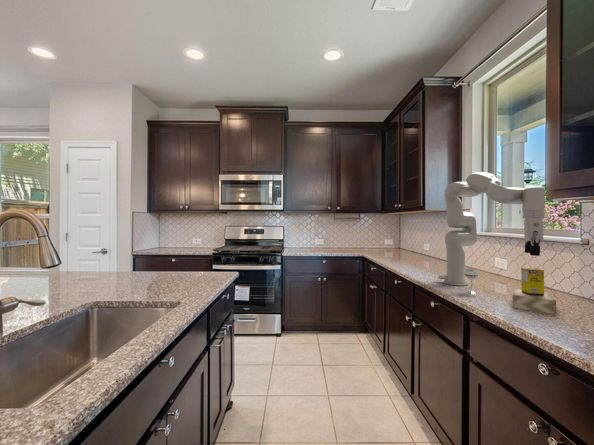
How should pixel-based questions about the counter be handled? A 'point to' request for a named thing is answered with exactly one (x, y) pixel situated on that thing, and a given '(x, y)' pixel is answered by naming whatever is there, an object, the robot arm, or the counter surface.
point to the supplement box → (532, 281)
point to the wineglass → (471, 277)
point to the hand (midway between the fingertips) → (532, 254)
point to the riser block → (534, 301)
